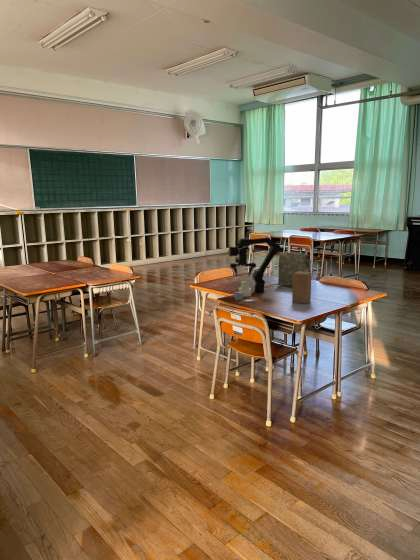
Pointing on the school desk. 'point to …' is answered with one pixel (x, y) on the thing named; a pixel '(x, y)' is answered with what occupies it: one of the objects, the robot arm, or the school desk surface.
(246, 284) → the green cube
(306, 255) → the bag
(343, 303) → the school desk surface
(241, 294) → the grey cube
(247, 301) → the board
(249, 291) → the plinth
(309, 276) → the block
